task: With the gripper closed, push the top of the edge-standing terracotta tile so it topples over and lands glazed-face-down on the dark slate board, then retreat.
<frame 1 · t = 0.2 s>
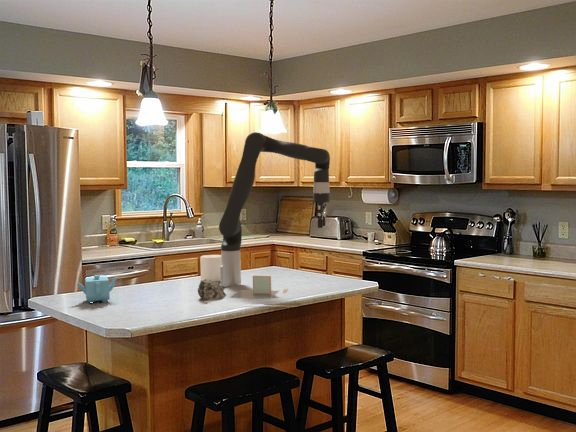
hand: (321, 226, 298), 29 cm above the table, fingers open, 8 cm apart
board: (255, 296, 282), on the table
tile: (262, 293, 282), point 1 cm above the table, touching board
teapot: (99, 301, 275), on the table
cup: (212, 279, 328), on the table
rock: (212, 299, 277), on the table
turner: (283, 295, 283), on the table
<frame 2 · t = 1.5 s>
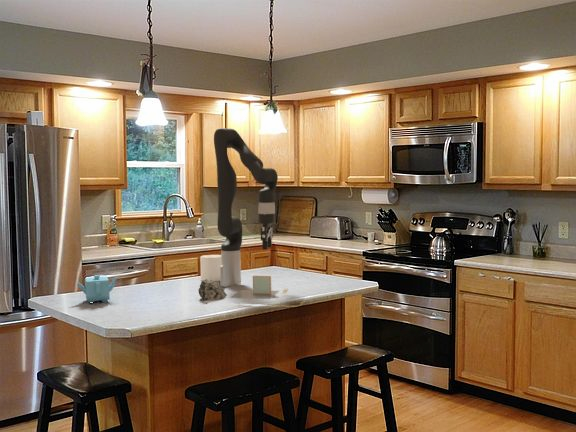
hand: (267, 248, 291), 20 cm above the table, fingers open, 8 cm apart
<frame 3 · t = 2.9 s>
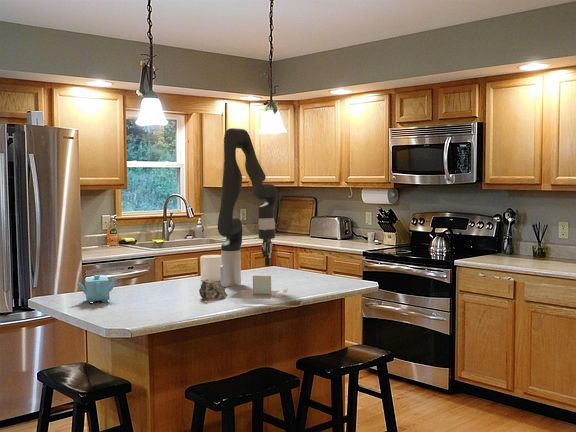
hand: (267, 266, 291), 12 cm above the table, fingers closed
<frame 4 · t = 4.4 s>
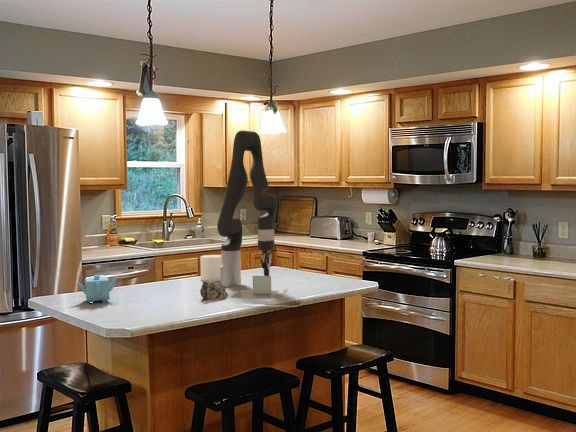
hand: (266, 277, 289), 7 cm above the table, fingers closed
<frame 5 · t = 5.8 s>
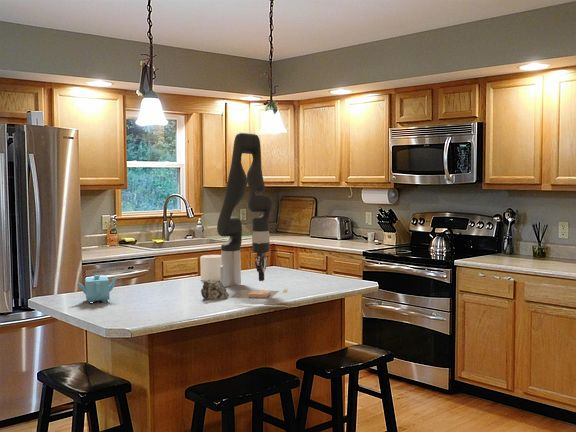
hand: (261, 280, 280), 7 cm above the table, fingers closed
tile: (261, 292, 281), point 2 cm above the table, tilted 90°, touching board
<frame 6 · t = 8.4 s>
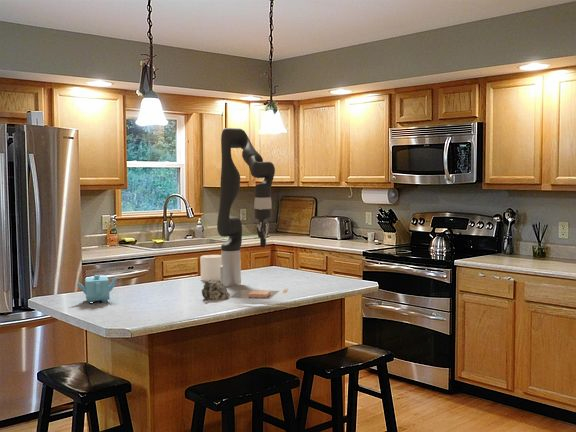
hand: (263, 247, 281), 22 cm above the table, fingers closed
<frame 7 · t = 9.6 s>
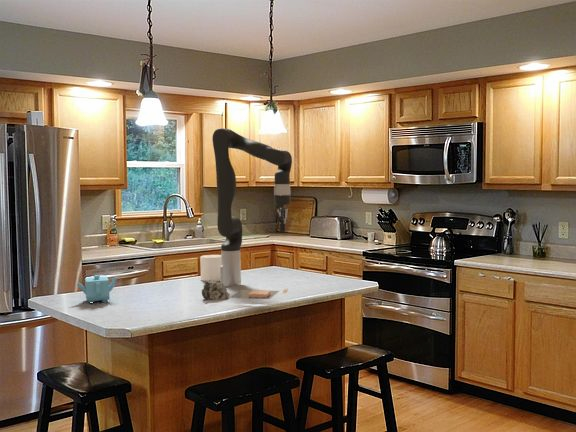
hand: (282, 231, 296), 27 cm above the table, fingers closed
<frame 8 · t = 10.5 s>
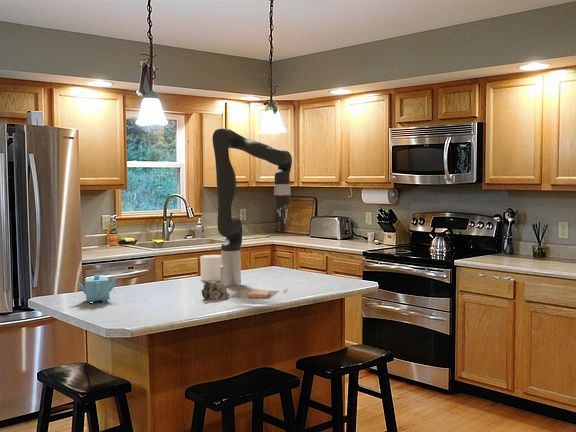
hand: (282, 231, 296), 27 cm above the table, fingers closed
at the end: tile tilted 90°; tile inside the target area (2.5 cm from its centre), point 1.9 cm above the table; the gripper is holding nothing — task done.
